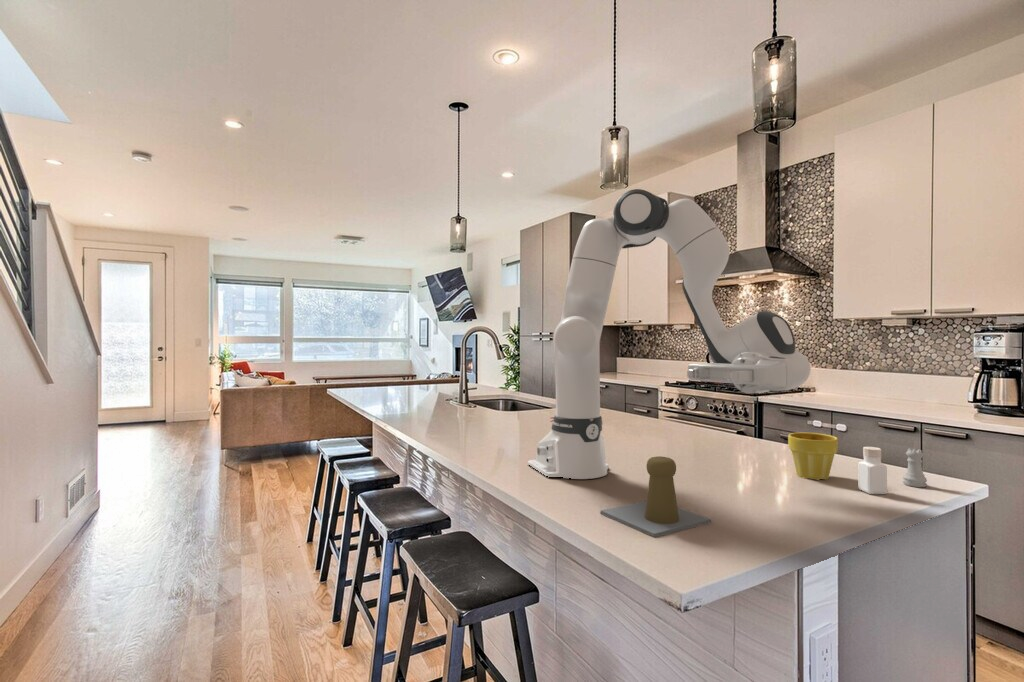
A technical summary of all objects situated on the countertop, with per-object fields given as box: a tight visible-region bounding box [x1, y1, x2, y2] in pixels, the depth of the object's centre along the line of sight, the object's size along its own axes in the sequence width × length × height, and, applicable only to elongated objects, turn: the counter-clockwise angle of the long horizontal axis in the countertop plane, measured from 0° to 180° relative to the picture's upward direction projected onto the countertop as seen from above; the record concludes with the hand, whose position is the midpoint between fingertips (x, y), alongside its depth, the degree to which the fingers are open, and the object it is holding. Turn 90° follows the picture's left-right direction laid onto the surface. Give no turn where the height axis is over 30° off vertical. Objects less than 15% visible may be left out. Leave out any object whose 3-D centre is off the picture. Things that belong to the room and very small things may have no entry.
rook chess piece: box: [902, 448, 928, 489], centre depth 116 cm, size 4×4×8 cm
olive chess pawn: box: [645, 456, 679, 524], centre depth 94 cm, size 6×6×11 cm
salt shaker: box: [857, 446, 888, 495], centre depth 111 cm, size 4×4×10 cm
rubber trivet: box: [600, 500, 712, 538], centre depth 96 cm, size 14×14×1 cm
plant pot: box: [787, 431, 839, 480], centre depth 124 cm, size 10×10×10 cm
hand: (708, 374), depth 103 cm, fingers open, 8 cm apart
